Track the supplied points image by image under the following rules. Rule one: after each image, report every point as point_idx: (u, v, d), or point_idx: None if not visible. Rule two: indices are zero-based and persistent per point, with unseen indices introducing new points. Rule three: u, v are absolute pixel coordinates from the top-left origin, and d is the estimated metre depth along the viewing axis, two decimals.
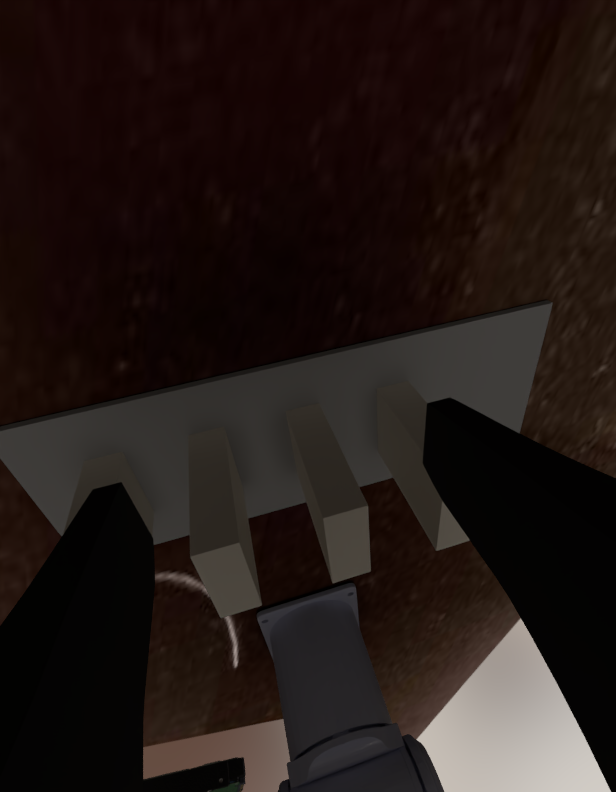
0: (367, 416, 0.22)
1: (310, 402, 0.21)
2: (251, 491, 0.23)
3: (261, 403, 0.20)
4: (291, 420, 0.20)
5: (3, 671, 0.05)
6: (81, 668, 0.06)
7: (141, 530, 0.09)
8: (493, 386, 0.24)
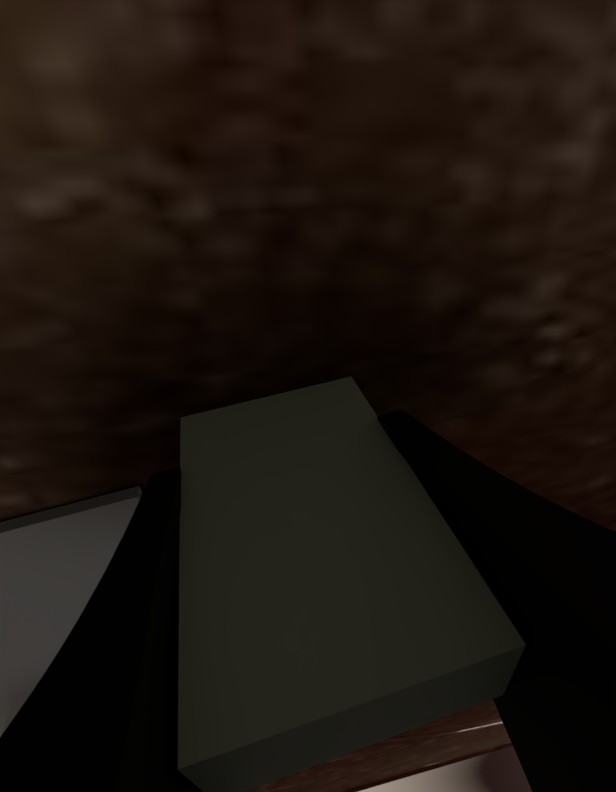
0: None
1: None
2: None
3: None
4: None
5: (104, 640, 0.05)
6: (168, 641, 0.06)
7: None
8: None
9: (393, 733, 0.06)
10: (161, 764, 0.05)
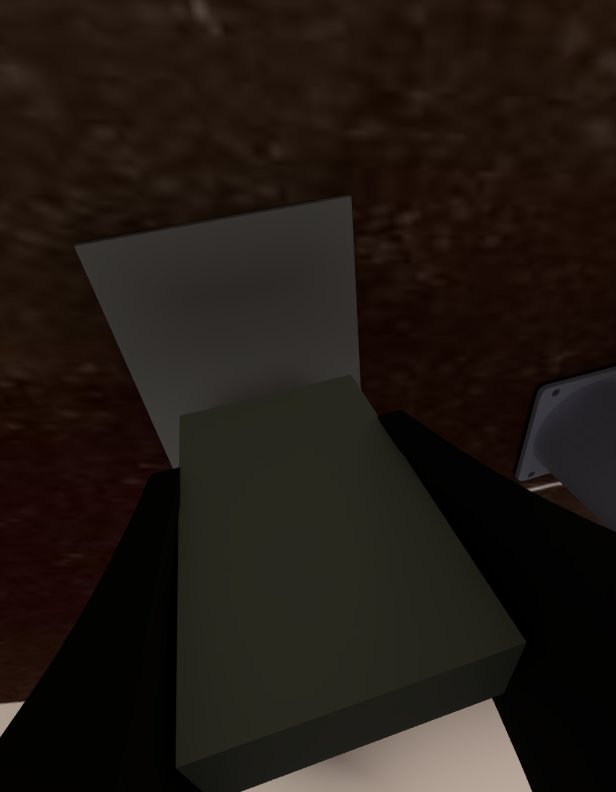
0: None
1: None
2: None
3: None
4: None
5: (104, 640, 0.05)
6: (167, 641, 0.06)
7: None
8: (226, 292, 0.16)
9: (393, 732, 0.06)
10: (161, 764, 0.05)
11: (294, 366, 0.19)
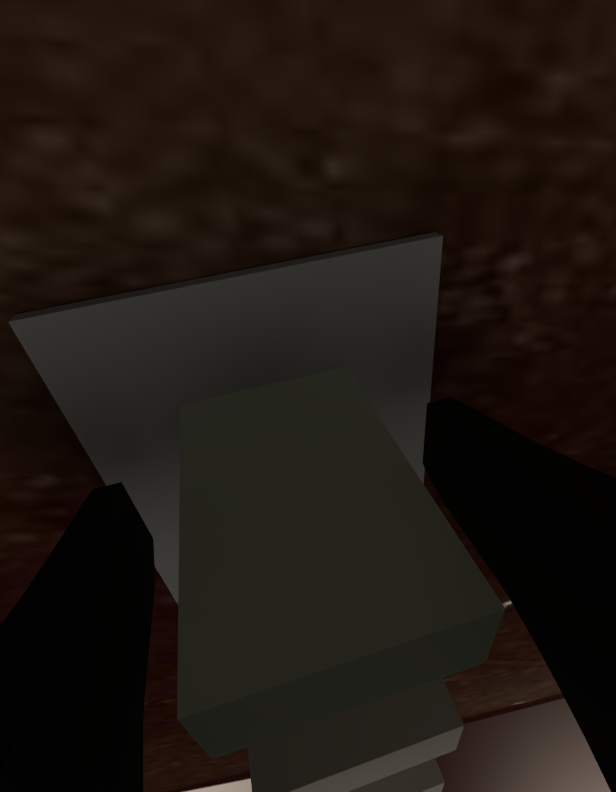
0: None
1: None
2: None
3: None
4: None
5: (3, 671, 0.05)
6: (81, 668, 0.06)
7: (141, 530, 0.09)
8: (248, 376, 0.11)
9: (381, 696, 0.06)
10: None
11: None
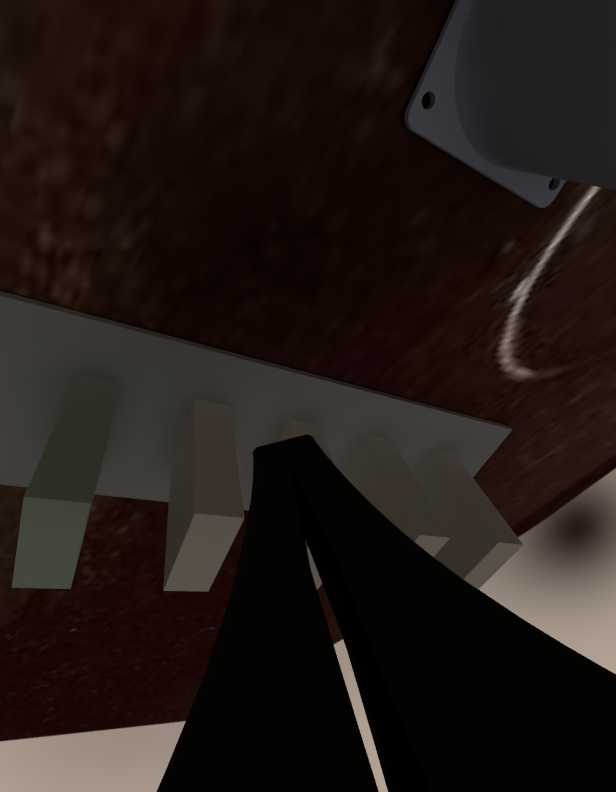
0: None
1: None
2: (364, 426, 0.23)
3: None
4: None
5: (274, 588, 0.06)
6: None
7: None
8: None
9: (77, 541, 0.13)
10: None
11: (162, 399, 0.19)
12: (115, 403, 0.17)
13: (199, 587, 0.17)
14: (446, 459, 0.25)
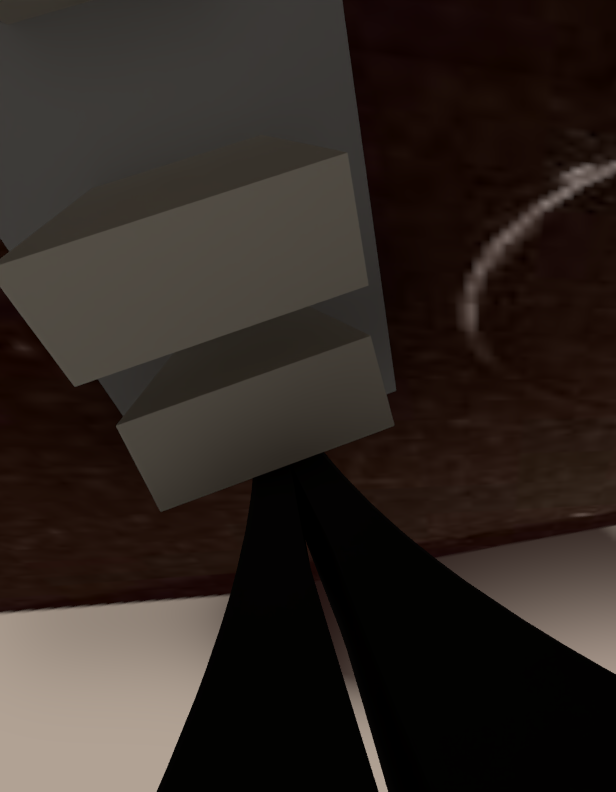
0: None
1: None
2: (274, 111, 0.10)
3: (4, 99, 0.09)
4: None
5: (274, 588, 0.06)
6: None
7: None
8: None
9: None
10: None
11: None
12: None
13: None
14: None
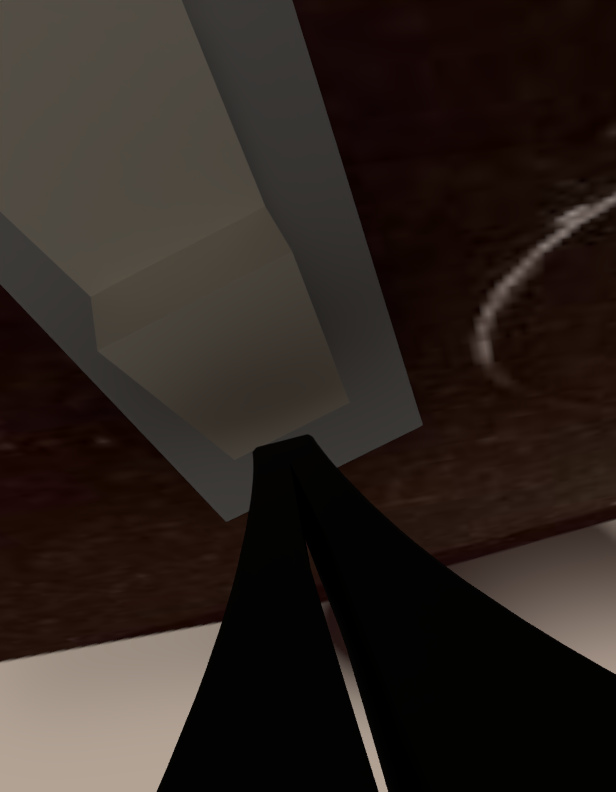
0: None
1: None
2: (287, 230, 0.12)
3: None
4: None
5: (274, 587, 0.06)
6: None
7: None
8: None
9: None
10: None
11: None
12: None
13: None
14: None
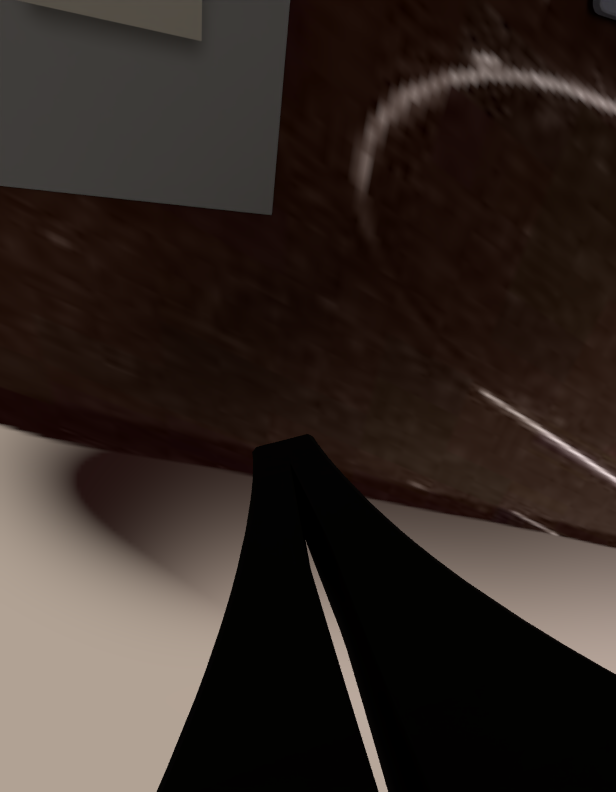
0: None
1: None
2: None
3: None
4: None
5: (274, 588, 0.06)
6: None
7: None
8: None
9: None
10: None
11: None
12: None
13: None
14: None
